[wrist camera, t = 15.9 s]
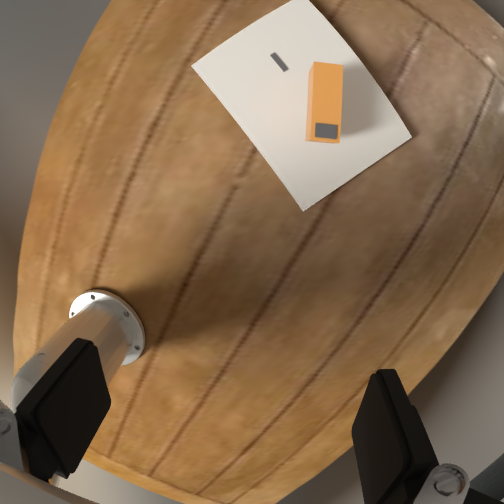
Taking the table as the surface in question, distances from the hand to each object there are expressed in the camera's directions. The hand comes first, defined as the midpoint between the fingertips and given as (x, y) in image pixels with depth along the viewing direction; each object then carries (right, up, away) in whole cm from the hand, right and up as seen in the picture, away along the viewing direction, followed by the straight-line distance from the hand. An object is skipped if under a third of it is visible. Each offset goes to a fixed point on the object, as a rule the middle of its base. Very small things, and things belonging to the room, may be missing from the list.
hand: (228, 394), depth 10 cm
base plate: (+6, +21, +22) cm, 31 cm away
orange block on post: (+7, +19, +19) cm, 27 cm away
